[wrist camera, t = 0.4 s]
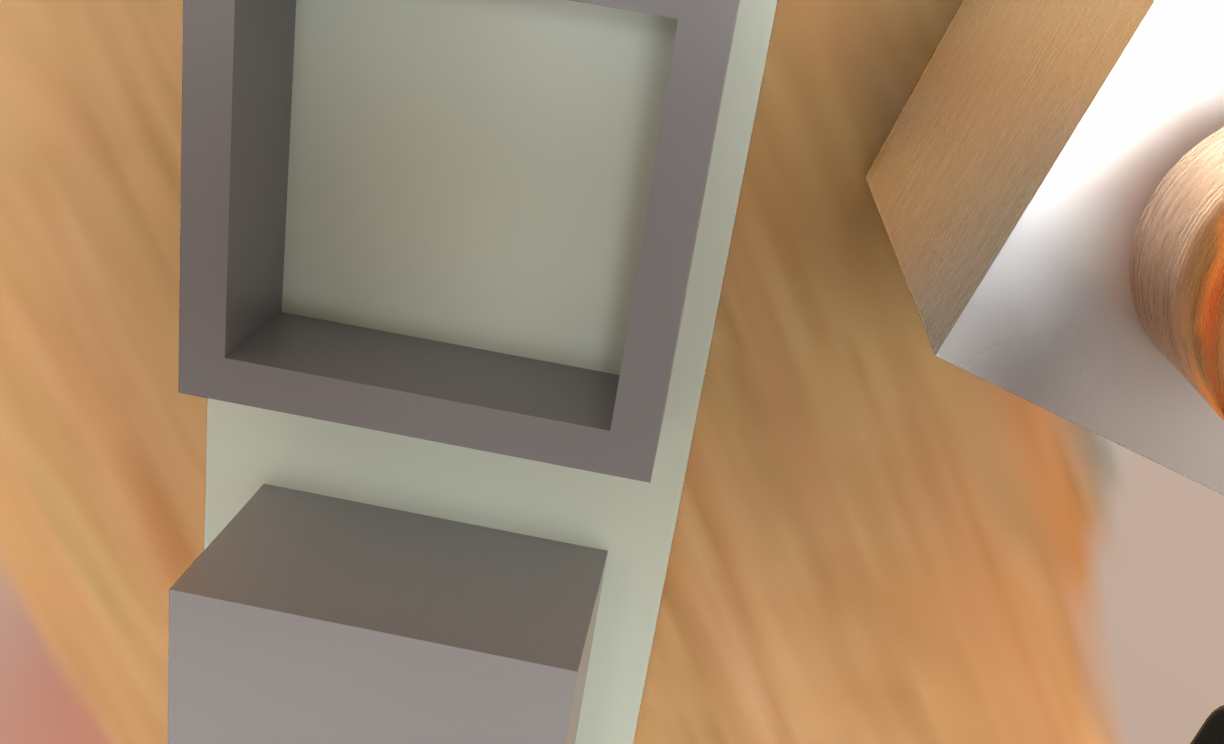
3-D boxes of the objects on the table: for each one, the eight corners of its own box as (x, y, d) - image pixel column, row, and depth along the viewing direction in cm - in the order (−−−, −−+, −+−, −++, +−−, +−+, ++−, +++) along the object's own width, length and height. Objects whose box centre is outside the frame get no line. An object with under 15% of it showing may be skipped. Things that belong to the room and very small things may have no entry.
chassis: (632, 738, 26) (600, 933, 21) (230, 655, 27) (104, 827, 22) (786, -58, 20) (793, -51, 15) (256, -145, 21) (89, -166, 15)
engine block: (1107, 295, 22) (1504, 728, 10) (865, 176, 21) (983, 480, 10) (1277, 41, 20) (2009, 211, 8) (1014, -93, 19) (1379, -112, 8)
